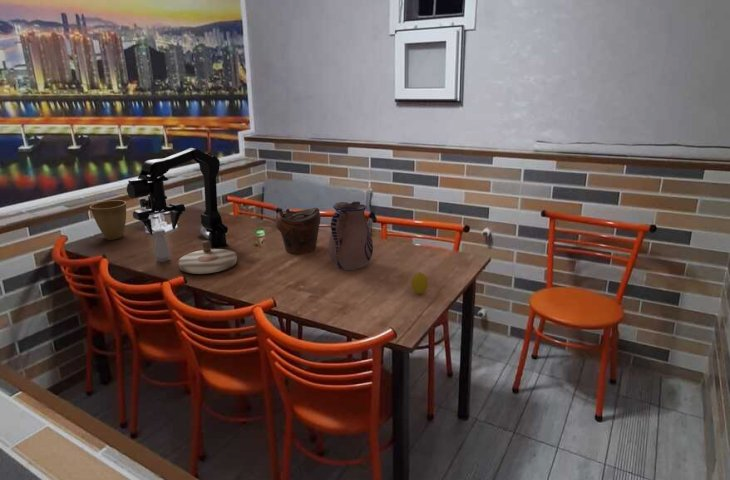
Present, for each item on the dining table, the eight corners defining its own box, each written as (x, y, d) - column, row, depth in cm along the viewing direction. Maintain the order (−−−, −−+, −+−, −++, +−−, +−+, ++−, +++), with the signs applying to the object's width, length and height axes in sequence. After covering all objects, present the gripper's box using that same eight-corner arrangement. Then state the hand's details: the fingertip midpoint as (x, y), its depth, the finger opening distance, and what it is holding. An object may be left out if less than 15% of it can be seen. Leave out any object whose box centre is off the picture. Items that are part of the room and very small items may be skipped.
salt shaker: (165, 263, 201) (161, 232, 197) (152, 262, 202) (148, 231, 198) (173, 258, 207) (169, 228, 202) (161, 257, 208) (156, 227, 203)
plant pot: (109, 231, 241) (103, 199, 236) (137, 233, 239) (132, 200, 234) (88, 241, 227) (82, 207, 222) (119, 243, 225) (113, 208, 220)
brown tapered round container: (268, 250, 215) (265, 209, 209) (303, 239, 228) (302, 201, 223) (294, 260, 203) (293, 218, 197) (330, 248, 217) (330, 209, 211)
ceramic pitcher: (378, 261, 202) (378, 200, 194) (361, 281, 183) (360, 215, 175) (338, 256, 207) (337, 197, 199) (317, 275, 188) (315, 211, 180)
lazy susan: (179, 257, 205) (177, 243, 203) (234, 250, 211) (233, 237, 209) (178, 276, 185) (176, 261, 183) (239, 269, 191) (238, 254, 189)
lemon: (410, 291, 174) (410, 270, 171) (425, 290, 174) (426, 269, 172) (412, 298, 169) (413, 276, 166) (428, 297, 169) (429, 275, 166)
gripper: (170, 186, 205) (175, 222, 210) (123, 194, 192) (130, 233, 197) (183, 190, 197) (188, 228, 202) (136, 199, 184) (142, 239, 190)
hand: (162, 231), depth 198 cm, fingers open, 9 cm apart
